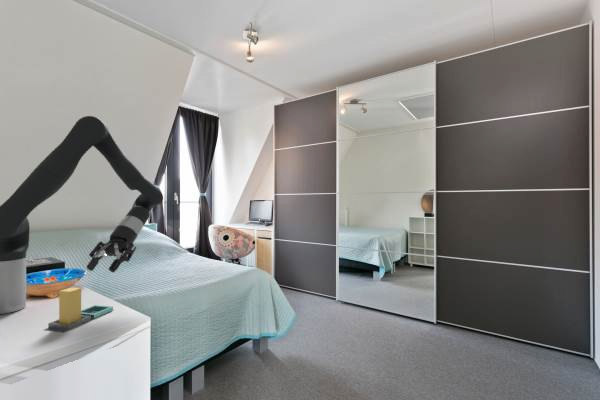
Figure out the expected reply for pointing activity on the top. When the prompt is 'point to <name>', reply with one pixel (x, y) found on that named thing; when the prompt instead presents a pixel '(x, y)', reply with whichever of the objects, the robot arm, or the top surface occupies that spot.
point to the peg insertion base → (86, 316)
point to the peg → (69, 305)
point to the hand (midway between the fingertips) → (100, 270)
